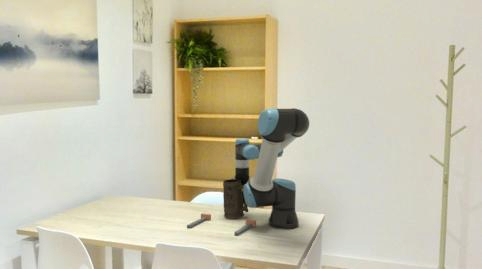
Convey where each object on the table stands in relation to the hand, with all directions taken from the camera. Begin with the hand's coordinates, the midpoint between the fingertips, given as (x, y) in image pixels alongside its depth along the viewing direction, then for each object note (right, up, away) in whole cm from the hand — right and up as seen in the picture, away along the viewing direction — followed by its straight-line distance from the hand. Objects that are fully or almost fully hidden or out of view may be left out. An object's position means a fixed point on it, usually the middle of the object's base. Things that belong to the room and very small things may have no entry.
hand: (242, 209), depth 244 cm
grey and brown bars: (-11, -5, -23) cm, 26 cm away
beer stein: (-3, -4, -5) cm, 7 cm away
